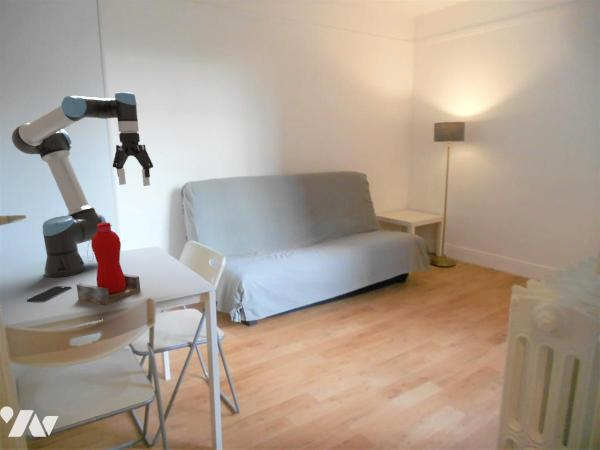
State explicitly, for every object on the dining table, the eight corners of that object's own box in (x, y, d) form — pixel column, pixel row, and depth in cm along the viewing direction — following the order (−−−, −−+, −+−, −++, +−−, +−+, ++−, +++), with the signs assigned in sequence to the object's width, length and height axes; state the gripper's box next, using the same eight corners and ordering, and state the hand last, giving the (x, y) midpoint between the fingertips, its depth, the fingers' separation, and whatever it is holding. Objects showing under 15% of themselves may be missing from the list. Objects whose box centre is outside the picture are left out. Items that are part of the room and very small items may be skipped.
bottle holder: (78, 299, 145) (76, 284, 144) (113, 285, 158) (112, 272, 157) (106, 305, 139) (104, 290, 138) (140, 290, 152) (138, 276, 151)
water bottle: (92, 290, 149) (82, 223, 144) (124, 284, 155) (116, 219, 149) (93, 298, 141) (83, 227, 136) (127, 291, 147) (119, 223, 141)
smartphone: (73, 286, 157) (43, 301, 143) (73, 288, 157) (43, 303, 143) (56, 285, 159) (24, 300, 144) (56, 287, 159) (24, 302, 144)
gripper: (159, 131, 163) (164, 184, 168) (114, 133, 174) (120, 183, 178) (144, 131, 157) (150, 187, 161) (99, 133, 167) (105, 185, 172)
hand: (134, 185), depth 170 cm, fingers open, 13 cm apart
